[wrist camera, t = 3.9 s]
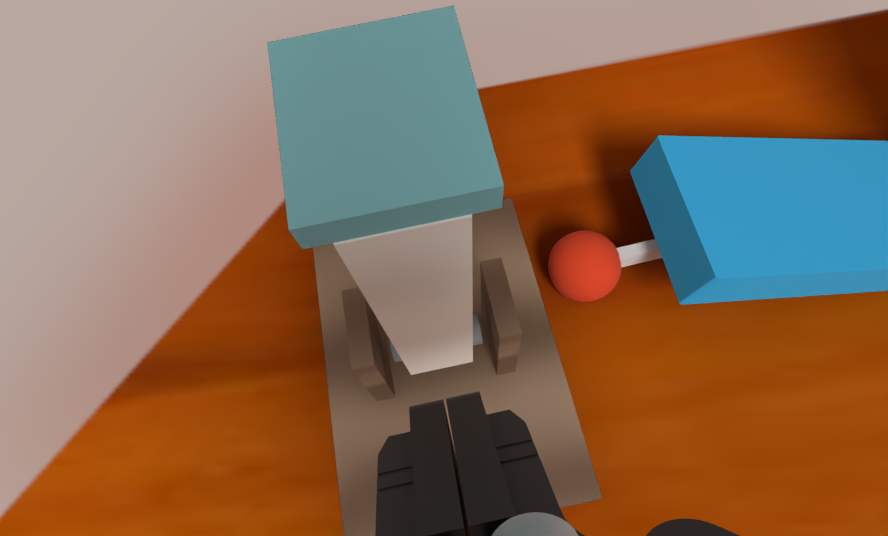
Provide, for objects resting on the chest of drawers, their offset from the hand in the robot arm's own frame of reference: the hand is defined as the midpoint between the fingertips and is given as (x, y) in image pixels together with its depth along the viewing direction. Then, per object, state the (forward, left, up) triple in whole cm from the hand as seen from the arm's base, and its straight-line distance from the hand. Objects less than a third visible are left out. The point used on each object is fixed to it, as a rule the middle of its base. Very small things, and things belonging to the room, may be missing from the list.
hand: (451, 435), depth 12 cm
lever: (-16, +5, -14) cm, 22 cm away
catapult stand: (-4, -4, -13) cm, 14 cm away
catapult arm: (-4, -4, -9) cm, 11 cm away
